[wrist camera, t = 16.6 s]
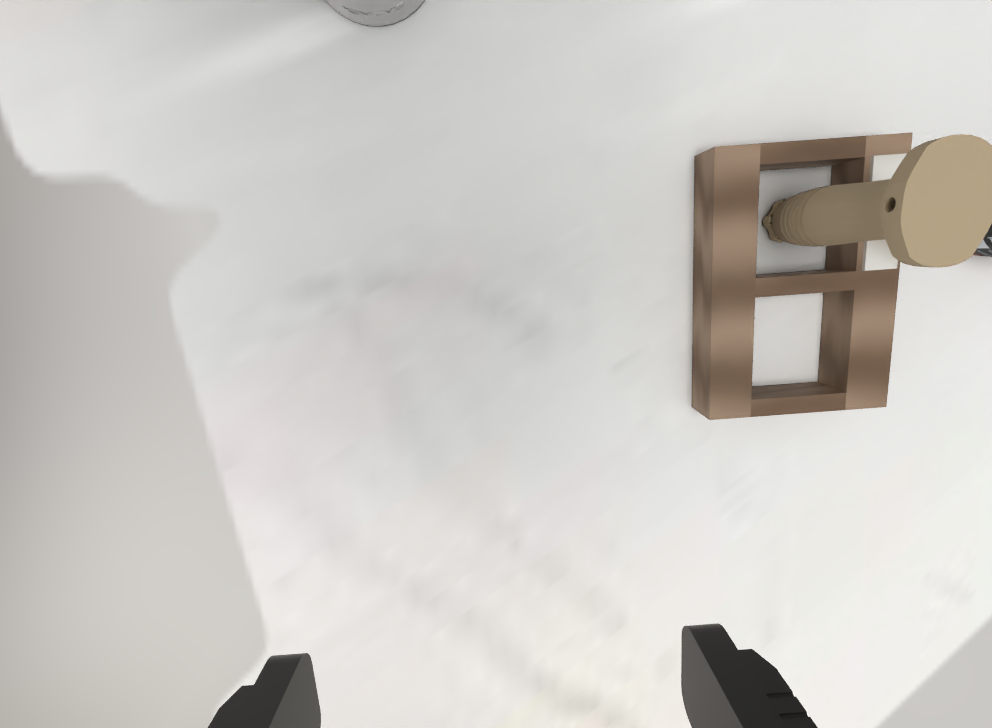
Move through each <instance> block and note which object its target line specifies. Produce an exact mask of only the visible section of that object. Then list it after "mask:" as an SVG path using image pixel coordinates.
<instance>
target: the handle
mask: <svg viewBox="0 0 992 728" xmlns="http://www.w3.org/2000/svg"><path fill="white" fill-rule="evenodd" d="M991 224H992V145H990V144H989V143H988V142H987V141H985V140H983V139H982V138H980V137H976V136H972V135H962V134H961V135H951V136H947V137H943V138H939V139H935V140H932V141H928V142H925V143H923V144H921V145H919V146H917V147H915V148H913V149H912V150H910V151H909V152H908V153H907V154H906V156H905V157H904V159H903V160H902V162H901V163H900V165H899V166H898V168H897V169H896V171H895V173H894V174H893V176H892V178H891V179H886V180H879V181H871V182H862V183H852V184H841V185H831V186H825V187H820V188H816V189H812V190H808V191H805V192H802V193H799V194H797V195H795V196H792V197H790V198H788V199H782V200H780V201H778V202H776V203H774V204H773V207H772V210H771V212H770V213H769V214H768V215H767V216H766V217H764V219H763V226H765V227H766V228H767V229H768V231H769V234H770V239H771V240H773V241H776V242H782V241H785V242H788V243H791V244H796V245H803V246H832V245H840V244H848V243H856V242H864V241H873V240H884V239H886V242H887V244H888V247H889V249H890V252H891V254H892V256H893V257H894V258H896V259H897V260H898V261H900V262H902V263H904V264H908V265H912V266H920V267H948V266H952V265H956V264H959V263H961V262H963V261H965V260H967V259H968V258H970V257H972V255H973V254H974V252H975V251H976V249H977V248H978V246H979V245H980V243H981V241H982V240H983V238H984V237H985V235H986V233H987V232H988V230H989V228H990V226H991Z"/></svg>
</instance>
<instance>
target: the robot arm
mask: <svg viewBox="0 0 992 728" xmlns="http://www.w3.org/2000/svg"><path fill="white" fill-rule="evenodd" d="M326 1H327V2H328V3H329V5H330V6H331V7H333V8H334V9H335V10H336V11H337V12H339V13H340V14H341V15H342V16H344V17H346V18H348V19H350V20H352V21H354V22H357V23H360V24H364V25H369V26H383V25H389V24H394V23H396V22H398V21H400V20H403V19H405V18H407V17H408V16H409V15H410V14H412V13H413V12H414V11H416V10H417V9H418V8H419V6H420V5H421V4H422V3H423V2H424V0H326ZM681 686H682V696H683V701H684V706H685V709H686V713H687V716H688V719H689V721H690V724H691V726H692V728H817V726H816V725H815V723H814V722H813V720H812V719H811V718H810V717H808V716H807V712H806V710H805V709H804V708H803V706H802V705H801V703H800V702H799V700H798V699H797V698H796V697H794V696H793V692H792V690H791V689H790V688H789V686H788V685H787V683H786V682H785V680H784V679H783V678H782V676H781V675H780V673H779V672H778V670H777V669H776V668H775V667H774V666H773V665H771V664H770V663H769V662H768V661H766V660H765V659H764V658H763V657H761V656H760V655H759V654H758V653H756V652H755V651H754V650H753V649H746V650H738V649H737V648H736V646H735V644H734V643H733V641H732V640H731V638H730V637H729V635H728V633H727V632H726V630H725V629H724V628H723V626H722V625H720V624H706V625H693V626H684V627H683V629H682V673H681ZM320 726H321V713H320V706H319V700H318V695H317V689H316V683H315V677H314V672H313V666H312V661H311V657H310V655H309V654H308V653H303V654H290V655H276V656H271V657H270V658H269V659H268V660H267V662H266V664H265V666H264V667H263V669H262V671H261V673H260V675H259V677H258V679H257V680H256V682H255V684H254V685H249V686H242V687H241V688H240V689H238V690H237V691H236V692H235V693H234V694H233V695H232V696H231V697H230V698H229V699H228V700H227V701H226V702H225V703H224V704H223V705H222V706H221V707H220V708H219V710H218V711H217V713H216V715H215V716H214V718H213V720H212V722H211V723H210V725H209V727H208V728H320Z"/></svg>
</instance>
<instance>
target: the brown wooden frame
mask: <svg viewBox="0 0 992 728" xmlns="http://www.w3.org/2000/svg"><path fill="white" fill-rule="evenodd" d="M911 143H912V133H900V134H886V135H872V136H858V137H845V138H831V139H817V140H803V141H789V142H776V143H762V144H748V145H734V146H720V147H713V148H711V149H709V150H707V151H705V152H703V153H701V154H699V155H696V156H695V177H694V266H693V354H692V407H693V408H694V409H695V410H697V411H698V412H700V413H701V414H702V415H704V416H705V417H706V418H708V419H709V420H715V419H728V418H742V417H755V416H769V415H782V414H796V413H809V412H823V411H836V410H850V409H863V408H877V407H886V404H887V393H888V383H889V372H890V362H891V352H892V341H893V331H894V320H895V310H896V300H897V289H898V279H899V268H900V261H898V260H897V259H896V258H894V257H893V256H892V254H891V252H890V249H889V247H888V244H887V242H886V239H884V240H873V241H864V242H856V243H848V244H840V245H832V246H827V252H826V267H825V270H815V271H801V272H788V273H774V274H760V275H756V256H757V229H758V202H759V175H760V171H763V170H776V169H790V168H804V167H818V166H832V176H831V185H841V184H852V183H862V182H871V181H879V180H886V179H891V178H892V176H893V174H894V173H895V171H896V169H897V168H898V166H899V165H900V163H901V162H902V160H903V159H904V157H905V156H906V154H907V153H908V152H909V151H910V150H911ZM821 292H824V298H823V313H822V328H821V343H820V358H819V374H818V382H809V383H795V384H781V385H768V386H754V387H752V364H753V337H754V310H755V297H766V296H780V295H794V294H807V293H821Z"/></svg>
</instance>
